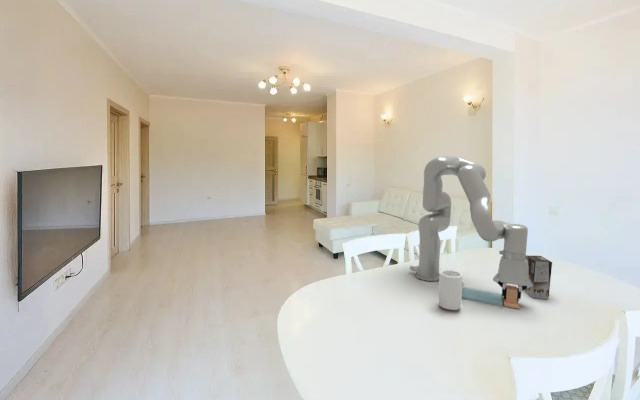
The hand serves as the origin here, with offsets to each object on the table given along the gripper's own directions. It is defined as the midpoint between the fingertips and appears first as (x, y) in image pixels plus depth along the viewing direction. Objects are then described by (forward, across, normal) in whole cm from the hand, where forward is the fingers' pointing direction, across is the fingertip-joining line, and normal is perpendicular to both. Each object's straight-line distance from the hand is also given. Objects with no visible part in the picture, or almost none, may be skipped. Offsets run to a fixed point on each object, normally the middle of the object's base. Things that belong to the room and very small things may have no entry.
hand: (510, 298), depth 122 cm
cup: (+2, -22, -16) cm, 27 cm away
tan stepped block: (+2, 0, 0) cm, 2 cm away
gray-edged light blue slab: (+2, -12, 0) cm, 12 cm away
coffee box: (+2, +10, +14) cm, 17 cm away
